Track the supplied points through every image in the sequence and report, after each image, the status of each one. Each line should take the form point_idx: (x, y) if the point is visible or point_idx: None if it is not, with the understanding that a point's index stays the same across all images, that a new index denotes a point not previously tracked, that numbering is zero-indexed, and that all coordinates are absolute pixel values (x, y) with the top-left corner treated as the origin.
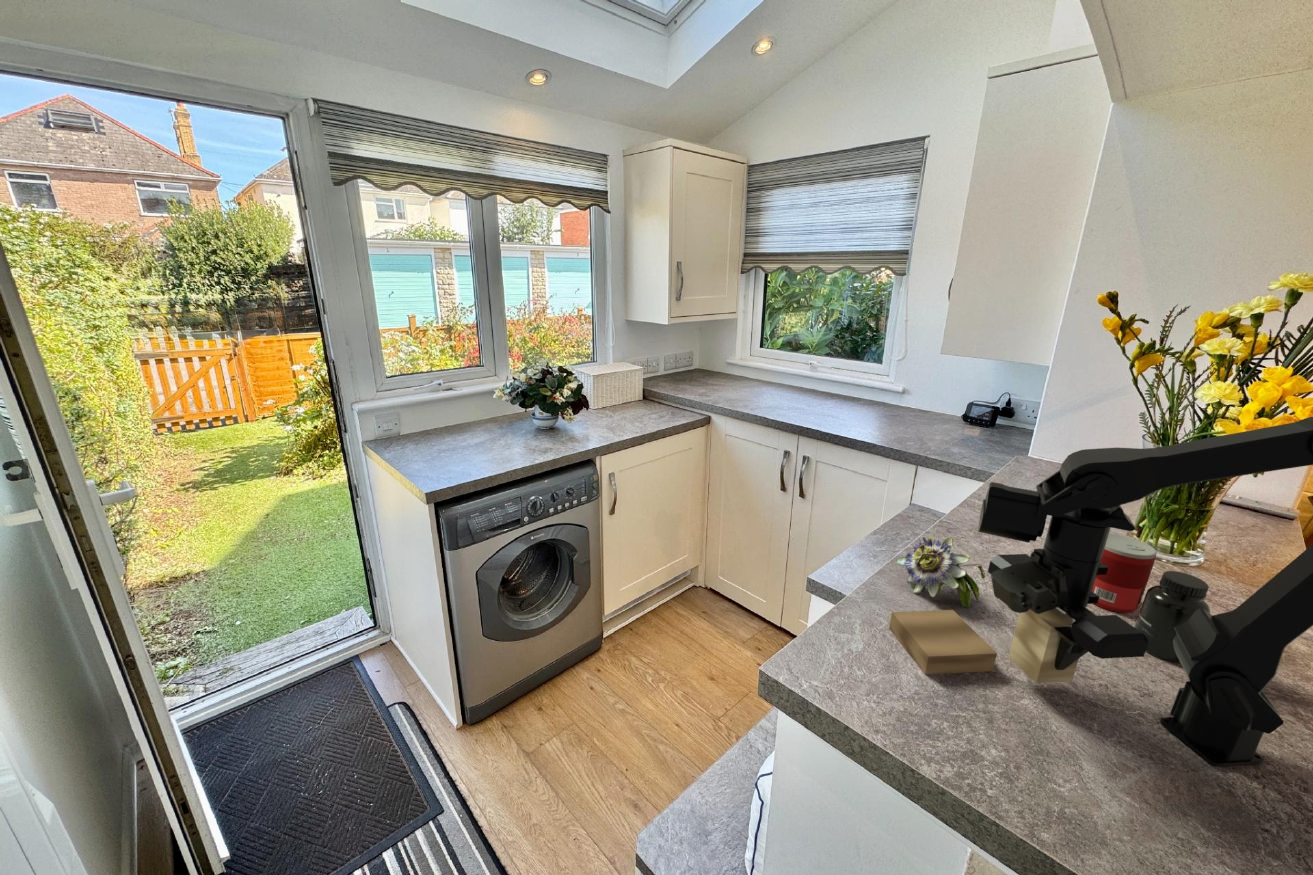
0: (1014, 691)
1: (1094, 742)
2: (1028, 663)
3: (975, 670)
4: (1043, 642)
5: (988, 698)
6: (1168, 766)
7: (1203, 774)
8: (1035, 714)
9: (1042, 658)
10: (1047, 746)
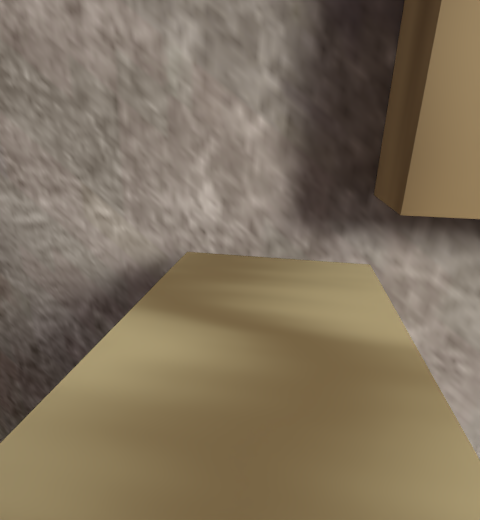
0: (257, 200)
1: (59, 279)
2: (240, 280)
3: (389, 103)
4: (70, 419)
5: (231, 54)
6: (15, 377)
7: (8, 419)
8: (151, 191)
9: (124, 322)
10: (25, 123)
